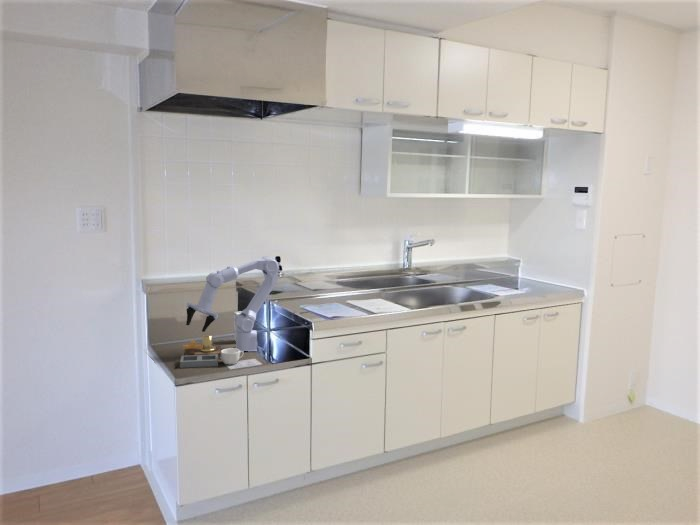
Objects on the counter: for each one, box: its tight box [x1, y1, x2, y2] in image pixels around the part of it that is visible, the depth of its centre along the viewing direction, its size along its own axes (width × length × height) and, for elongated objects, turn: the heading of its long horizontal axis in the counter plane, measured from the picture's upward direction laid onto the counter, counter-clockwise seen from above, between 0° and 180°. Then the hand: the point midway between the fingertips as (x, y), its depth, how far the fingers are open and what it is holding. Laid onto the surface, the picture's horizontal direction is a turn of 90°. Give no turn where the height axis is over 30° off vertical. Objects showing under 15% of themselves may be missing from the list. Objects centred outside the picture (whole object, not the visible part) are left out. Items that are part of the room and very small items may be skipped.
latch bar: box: [182, 339, 203, 350], centre depth 250 cm, size 8×2×3 cm, turn 102°
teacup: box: [220, 347, 245, 365], centre depth 243 cm, size 10×8×5 cm
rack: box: [179, 354, 219, 369], centre depth 241 cm, size 15×8×2 cm, turn 102°
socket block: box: [184, 345, 222, 360], centre depth 252 cm, size 15×11×4 cm
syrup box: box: [233, 310, 243, 342], centre depth 274 cm, size 6×6×14 cm
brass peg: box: [199, 333, 216, 352], centre depth 252 cm, size 7×7×9 cm
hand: (195, 328), depth 251 cm, fingers open, 7 cm apart
